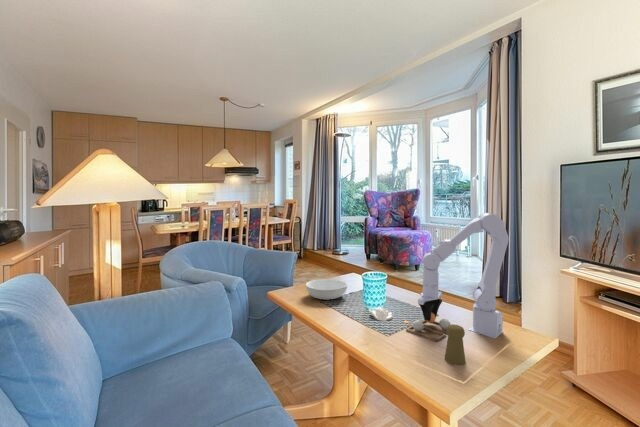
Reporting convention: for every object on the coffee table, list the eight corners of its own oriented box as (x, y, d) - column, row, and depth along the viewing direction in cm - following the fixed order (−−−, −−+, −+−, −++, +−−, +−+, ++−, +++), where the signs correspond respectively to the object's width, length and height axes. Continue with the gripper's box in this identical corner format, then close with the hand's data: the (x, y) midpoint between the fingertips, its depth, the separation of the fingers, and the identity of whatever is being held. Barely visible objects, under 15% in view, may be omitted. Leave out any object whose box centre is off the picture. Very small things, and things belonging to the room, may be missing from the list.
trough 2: (457, 330, 121) (457, 327, 120) (449, 335, 116) (449, 332, 116) (426, 321, 130) (426, 318, 130) (418, 325, 126) (418, 322, 126)
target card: (423, 325, 126) (423, 324, 126) (416, 329, 122) (416, 328, 122) (405, 319, 132) (405, 318, 132) (398, 323, 128) (398, 322, 128)
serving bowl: (354, 295, 166) (354, 281, 165) (334, 307, 148) (334, 292, 148) (320, 289, 177) (320, 276, 176) (297, 299, 159) (297, 285, 159)
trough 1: (445, 337, 115) (446, 334, 115) (437, 343, 111) (437, 339, 111) (415, 327, 124) (415, 324, 124) (406, 331, 120) (406, 328, 120)
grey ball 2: (452, 329, 121) (452, 319, 120) (447, 332, 118) (447, 322, 118) (442, 326, 124) (442, 316, 123) (437, 329, 121) (437, 319, 121)
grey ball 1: (426, 331, 120) (426, 320, 119) (420, 334, 117) (420, 323, 117) (416, 328, 123) (416, 317, 122) (410, 330, 120) (410, 320, 120)
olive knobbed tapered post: (440, 356, 101) (441, 322, 101) (459, 355, 102) (459, 321, 101) (450, 366, 95) (450, 330, 95) (469, 365, 96) (470, 329, 95)
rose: (365, 308, 134) (375, 302, 142) (365, 318, 134) (375, 311, 142) (387, 313, 128) (397, 306, 136) (387, 324, 128) (397, 316, 136)
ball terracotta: (437, 322, 125) (437, 312, 125) (431, 325, 122) (432, 315, 122) (428, 319, 128) (428, 310, 128) (422, 322, 125) (422, 312, 125)
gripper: (430, 278, 132) (430, 311, 133) (411, 285, 123) (410, 320, 123) (447, 282, 127) (446, 316, 128) (428, 289, 117) (427, 326, 118)
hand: (430, 318), depth 125 cm, fingers closed on ball terracotta, 4 cm apart
